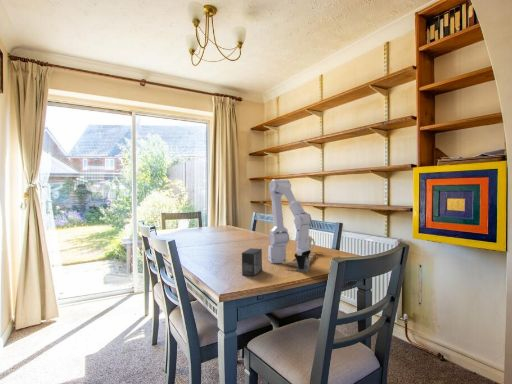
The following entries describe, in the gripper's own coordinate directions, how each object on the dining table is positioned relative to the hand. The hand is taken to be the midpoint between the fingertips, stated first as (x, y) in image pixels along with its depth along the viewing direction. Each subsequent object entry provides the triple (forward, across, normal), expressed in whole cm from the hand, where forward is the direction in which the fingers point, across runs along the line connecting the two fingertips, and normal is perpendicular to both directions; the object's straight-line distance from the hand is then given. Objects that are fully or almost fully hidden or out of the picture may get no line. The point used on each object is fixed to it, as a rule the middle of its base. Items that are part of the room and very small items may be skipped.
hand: (302, 267), depth 137 cm
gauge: (+2, 0, +4) cm, 4 cm away
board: (+2, +17, +4) cm, 17 cm away
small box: (+2, -12, +21) cm, 24 cm away
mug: (+2, +38, +6) cm, 38 cm away
